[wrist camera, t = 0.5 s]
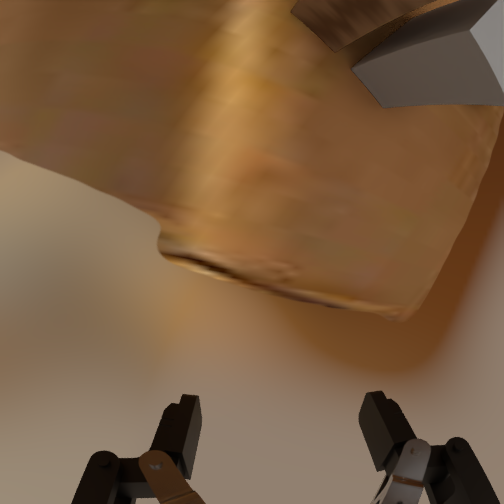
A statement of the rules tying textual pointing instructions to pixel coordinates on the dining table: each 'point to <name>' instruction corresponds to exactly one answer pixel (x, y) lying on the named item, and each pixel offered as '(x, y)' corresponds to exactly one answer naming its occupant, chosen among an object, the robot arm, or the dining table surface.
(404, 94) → the grey stand
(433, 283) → the dining table surface
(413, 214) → the dining table surface
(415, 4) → the walnut pedestal
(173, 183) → the dining table surface
